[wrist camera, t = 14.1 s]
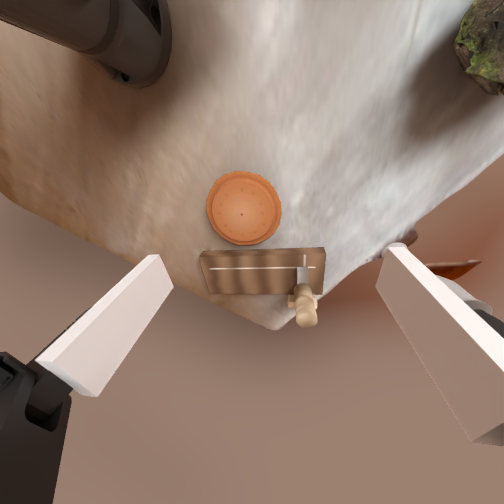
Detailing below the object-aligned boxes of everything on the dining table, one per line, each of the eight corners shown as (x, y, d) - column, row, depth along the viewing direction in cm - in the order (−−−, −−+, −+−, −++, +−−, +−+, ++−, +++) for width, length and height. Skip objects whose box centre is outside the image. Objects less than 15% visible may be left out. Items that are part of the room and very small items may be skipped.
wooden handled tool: (287, 294, 51) (289, 338, 40) (286, 260, 46) (288, 300, 34) (313, 294, 50) (323, 340, 39) (316, 259, 45) (328, 300, 33)
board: (213, 286, 55) (209, 293, 52) (202, 251, 49) (198, 257, 46) (320, 286, 49) (322, 294, 47) (323, 247, 43) (326, 254, 41)
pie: (197, 194, 41) (188, 200, 37) (257, 151, 35) (253, 153, 31) (237, 247, 47) (232, 258, 43) (293, 219, 41) (295, 228, 37)
